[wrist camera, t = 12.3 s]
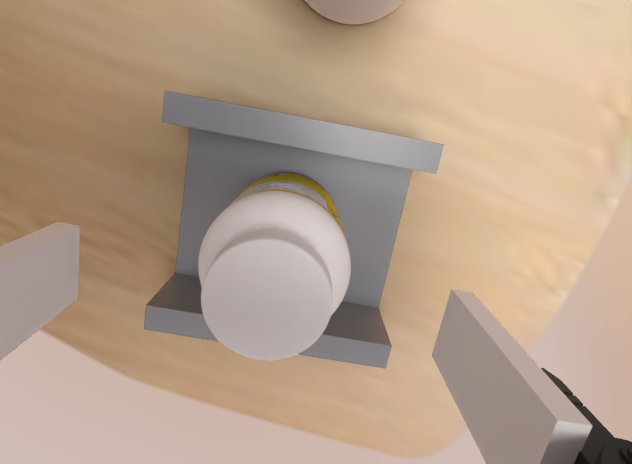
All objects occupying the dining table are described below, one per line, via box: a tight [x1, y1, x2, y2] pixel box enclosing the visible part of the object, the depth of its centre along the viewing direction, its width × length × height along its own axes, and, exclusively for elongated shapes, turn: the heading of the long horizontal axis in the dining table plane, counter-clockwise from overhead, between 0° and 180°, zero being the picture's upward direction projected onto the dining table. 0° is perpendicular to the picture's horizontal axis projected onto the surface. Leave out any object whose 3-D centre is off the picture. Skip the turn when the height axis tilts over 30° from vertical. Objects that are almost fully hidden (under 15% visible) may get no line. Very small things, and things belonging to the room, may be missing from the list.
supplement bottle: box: [198, 171, 351, 360], centre depth 21 cm, size 7×7×13 cm
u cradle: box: [144, 91, 444, 369], centre depth 25 cm, size 13×14×6 cm
